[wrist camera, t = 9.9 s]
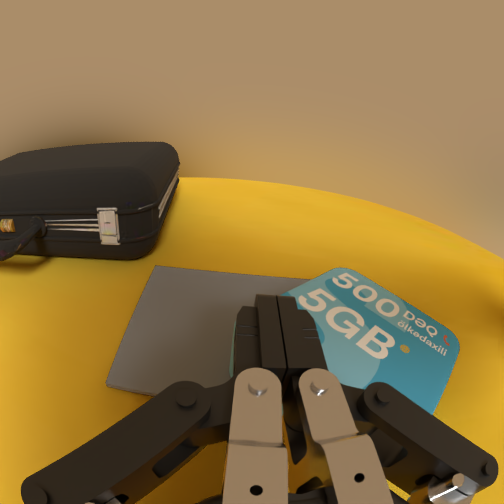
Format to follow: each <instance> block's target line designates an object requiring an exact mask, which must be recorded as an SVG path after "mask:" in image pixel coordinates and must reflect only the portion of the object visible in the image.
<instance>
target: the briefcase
mask: <svg viewBox="0 0 504 504" xmlns="http://www.w3.org/2000/svg"><path fill="white" fill-rule="evenodd" d="M179 165H180V162H179V158H178V154H177V152H176V150H175V149H174V147H172V146H171V145H170V144H168V143H165V142H120V143H101V144H86V145H75V146H66V147H57V148H49V149H41V150H34V151H28V152H22V153H18V154H16V155H13V156H11V157H9V158H6V159H4V160H2V161H0V261H4V260H6V259H8V258H10V257H12V256H14V255H15V254H31V255H48V256H65V257H84V258H104V259H124V260H132V259H136V258H140V257H142V256H144V255H145V254H146V253H148V252H149V251H150V250H151V248H152V247H153V246H154V245H155V243H156V241H157V238H158V236H159V233H160V230H161V227H162V224H163V222H164V219H165V216H166V214H167V211H168V208H169V206H170V203H171V201H172V198H173V196H174V193H175V191H176V188H177V185H178V183H179V178H178V175H179V174H178V172H179V171H178V170H179Z"/></svg>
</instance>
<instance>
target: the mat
mask: <svg viewBox="0 0 504 504" xmlns="http://www.w3.org/2000/svg"><path fill="white" fill-rule="evenodd" d="M308 281H310V279H296V278H284V277H271V276H259V275H248V274H236V273H225V272H215V271H204V270H194V269H184V268H175V267H165V266H156V265H155V268H154V270H153V272H152V274H151V276H150V278H149V280H148V282H147V284H146V286H145V289H144V291H143V293H142V295H141V297H140V299H139V302H138V304H137V306H136V308H135V311H134V313H133V315H132V317H131V320H130V322H129V324H128V327H127V329H126V332H125V334H124V336H123V339H122V341H121V344H120V346H119V349H118V351H117V354H116V356H115V359H114V361H113V364H112V367H111V369H110V372H109V375H108V377H107V380H106V385H107V386H108V387H112V388H117V389H121V390H125V391H130V392H135V393H139V394H145V395H150V396H156V395H157V394H159V393H160V392H161V391H163V390H164V389H166V388H167V387H168V386H170V385H171V384H173V383H175V382H179V381H192V382H196V383H198V384H200V385H201V386H203V387H204V388H209V387H214V386H218V385H221V384H224V383H226V382H227V381H229V380H230V379H231V377H230V373H229V366H230V357H231V349H232V340H233V331H234V324H235V321H236V318H237V314H238V312H239V311H240V309H241V307H242V306H252V307H254V303H255V297H256V294H266V295H275V296H276V295H281V294H283V293H285V292H287V291H289V290H292V289H294V288H296V287H298V286H300V285H302V284H304V283H306V282H308Z"/></svg>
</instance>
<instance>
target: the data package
mask: <svg viewBox="0 0 504 504" xmlns="http://www.w3.org/2000/svg"><path fill="white" fill-rule="evenodd" d="M281 296H294V297H295V299H296V303H297V307H298V309H302V310H307V311H308V312H309V313H310V315H311V316H312V317H313V318H314V321H315V324H316V328H317V331H318V335H319V339H320V342H321V345H322V349H323V353H324V356H325V360H326V364H327V367H328V370H329V372H331V373H333V374H334V375H335V376H336V377H337V378H338V380H339V382H340V383H342V384H344V385H347V386H351V387H356V388H361V389H366V387H367V386H368V385H369V384H371V383H374V382H384V383H387V384H389V385H391V386H392V387H394V388H395V389H396V390H398V391H399V392H401V393H402V394H403V395H405V396H406V397H407V398H409V399H410V400H412V401H413V402H414V403H416V404H417V405H419V406H420V407H422V408H423V409H424V410H426V411H427V412H429V413H430V414H431V415H433V413H434V411H435V408H436V406H437V404H438V402H439V400H440V398H441V396H442V394H443V391H444V389H445V387H446V384H447V382H448V380H449V377H450V375H451V372H452V370H453V367H454V364H455V362H456V359H457V356H458V353H459V350H460V346H459V342H458V339H457V338H456V336H455V335H454V334H453V333H452V332H451V331H450V330H449V329H448V328H446V327H445V326H443V325H442V324H440V323H438V322H437V321H435V320H434V319H432V318H431V317H429V316H428V315H426V314H424V313H423V312H421V311H420V310H418V309H417V308H415V307H413V306H412V305H410V304H409V303H407V302H405V301H404V300H402V299H401V298H399V297H397V296H396V295H394V294H393V293H391V292H389V291H388V290H386V289H384V288H383V287H381V286H379V285H378V284H376V283H375V282H373V281H371V280H370V279H368V278H366V277H365V276H363V275H361V274H360V273H358V272H356V271H354V270H351V269H347V268H335V269H332V270H330V271H328V272H326V273H324V274H322V275H320V276H318V277H316V278H314V279H312V280H310V281H308V282H306V283H304V284H302V285H300V286H298V287H296V288H294V289H292V290H289V291H287V292H285V293H283V294H281ZM235 327H236V321H235V324H234V331H233V340H232V349H231V357H230V366H229V373H230V377H231V378H232V376H233V353H234V335H235ZM283 413H284V412H283V404H282V415H283Z"/></svg>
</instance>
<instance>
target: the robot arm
mask: <svg viewBox="0 0 504 504" xmlns="http://www.w3.org/2000/svg"><path fill="white" fill-rule="evenodd" d="M282 404H283V412H284V413H283V415H282ZM282 432H283V437H284V443H285V445H284V444H283V441H282ZM223 441H227V446H226V455H225V464H224V472H223V480H222V489H221V494H220V495H216V496H212V497H209V498H207V499H204V500H202V501H200V502H198V503H196V504H470V502H471V500H472V498H473V496H474V494H475V493H477V492H479V491H481V490H483V489H485V488H487V487H488V486H490V485H492V484H493V483H494V482H495V480H496V478H497V475H498V464H497V461H496V459H495V458H494V457H493V456H492V455H490V454H489V453H487V452H486V451H484V450H483V449H481V448H480V447H478V446H477V445H475V444H474V443H472V442H471V441H469V440H468V439H466V438H465V437H463V436H462V435H460V434H459V433H457V432H456V431H454V430H453V429H452V428H450V427H449V426H447V425H446V424H444V423H443V422H441V421H440V420H439V419H437V418H436V417H434V416H433V415H431V414H430V413H429V412H427V411H426V410H424V409H423V408H422V407H420V406H419V405H417V404H416V403H414V402H413V401H412V400H410V399H409V398H407V397H406V396H405V395H403V394H402V393H401V392H399V391H398V390H396V389H395V388H394V387H392V386H391V385H389V384H387V383H384V382H374V383H371V384H369V385H368V386H367V387H366V389H361V388H356V387H351V386H347V385H344V384H342V383H340V382H339V380H338V378H337V377H336V376H335V375H334V374H333V373H331V372H329V370H328V367H327V364H326V360H325V356H324V353H323V349H322V345H321V342H320V339H319V335H318V331H317V328H316V324H315V321H314V318H313V317H312V316H311V315H310V313H309V312H308V311H307V310H302V309H298V307H297V303H296V299H295V297H294V296H281V295H276V296H275V295H266V294H256V297H255V303H254V307H252V306H242V307H241V309H240V311H239V312H238V314H237V318H236V327H235V335H234V353H233V376H232V378H231V379H230V380H229V381H227V382H226V383H224V384H221V385H218V386H214V387H209V388H204V387H203V386H201V385H200V384H198V383H196V382H192V381H179V382H175V383H173V384H171V385H170V386H168V387H167V388H166V389H164V390H163V391H161V392H160V393H159V394H157V395H156V396H155V397H153V398H152V399H150V400H149V401H148V402H146V403H145V404H143V405H142V406H141V407H139V408H138V409H136V410H135V411H133V412H132V413H130V414H129V415H128V416H126V417H125V418H123V419H122V420H120V421H119V422H117V423H116V424H114V425H113V426H111V427H110V428H108V429H107V430H105V431H104V432H102V433H101V434H99V435H98V436H96V437H95V438H93V439H91V440H90V441H88V442H87V443H85V444H84V445H82V446H80V447H79V448H77V449H75V450H74V451H72V452H71V453H69V454H67V455H66V456H64V457H62V458H61V459H59V460H57V461H56V462H54V463H52V464H50V465H49V466H47V467H45V468H43V469H42V470H40V471H38V472H36V473H34V474H32V475H31V476H29V477H27V478H26V479H25V480H24V481H23V483H22V486H21V496H22V500H23V502H24V504H134V503H136V502H137V501H139V500H140V499H142V498H143V497H144V496H146V495H147V494H148V493H150V492H151V491H152V490H154V489H155V488H156V487H158V486H159V485H160V484H162V483H163V482H164V481H165V480H167V479H168V478H169V477H170V476H172V475H173V474H174V473H175V472H177V471H178V470H179V469H180V468H181V467H183V466H184V465H185V464H186V463H187V462H189V461H190V460H191V459H192V458H193V457H194V456H196V455H197V454H198V453H199V452H200V451H201V450H202V449H203V448H205V447H206V446H207V445H209V444H214V443H218V442H223ZM288 464H289V471H288ZM386 479H387V480H389V481H390V482H392V483H393V484H394V485H396V486H397V487H399V488H400V489H402V490H403V491H405V492H406V493H408V494H409V495H411V496H410V497H409V498H408V499H407V501H405V500H404V499H403V498H401V497H400V496H398V495H397V494H396V493H394V492H393V491H391V490H390V489H389V487H388V484H387V481H386ZM288 487H289V492H290V493H288Z"/></svg>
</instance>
